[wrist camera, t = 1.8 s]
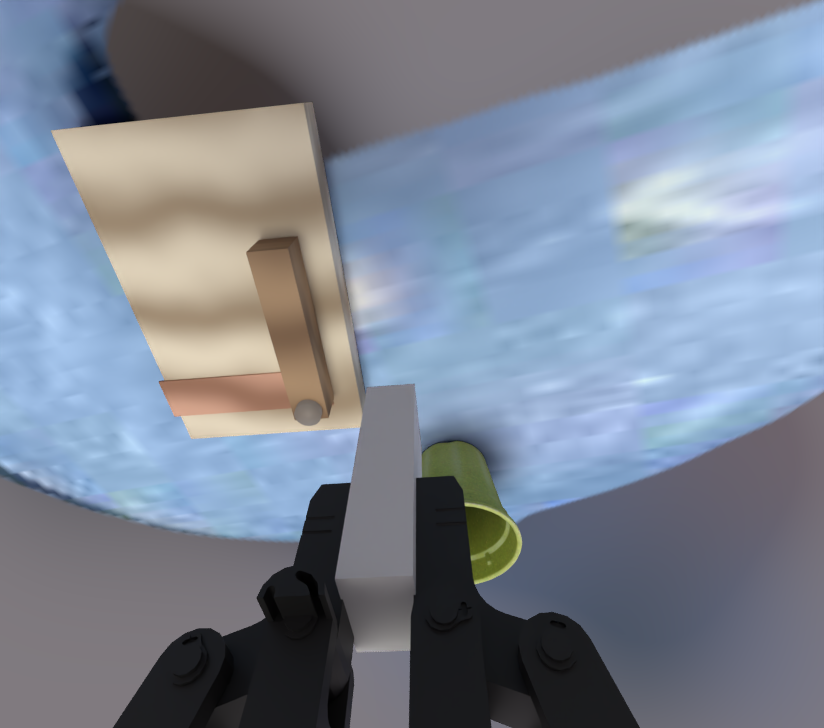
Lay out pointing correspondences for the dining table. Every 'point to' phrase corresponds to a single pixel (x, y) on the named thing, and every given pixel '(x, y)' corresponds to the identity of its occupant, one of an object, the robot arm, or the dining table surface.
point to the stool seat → (219, 255)
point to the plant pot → (477, 507)
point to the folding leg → (292, 326)
